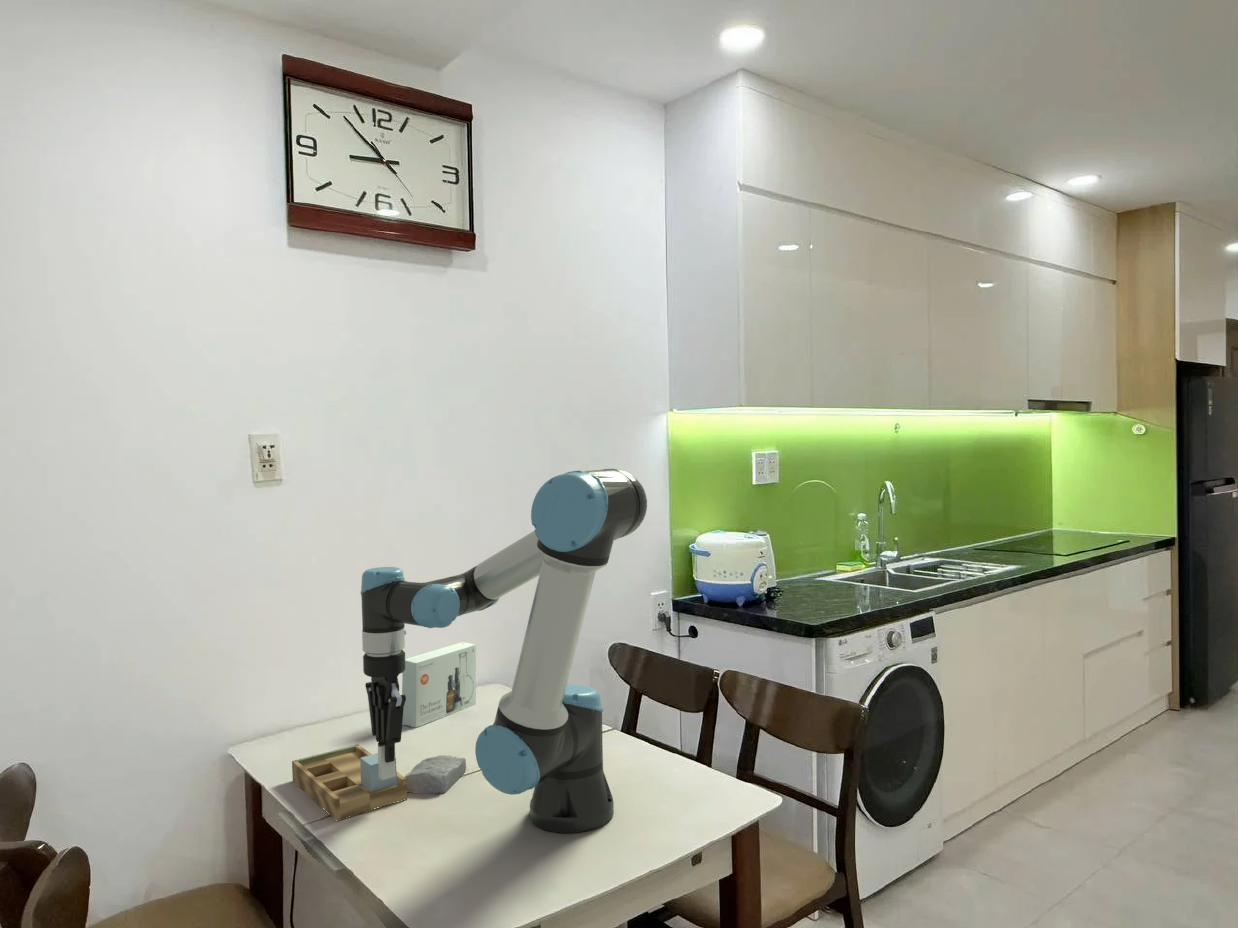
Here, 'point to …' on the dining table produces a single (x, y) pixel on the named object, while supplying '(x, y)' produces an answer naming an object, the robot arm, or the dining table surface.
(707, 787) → the dining table surface
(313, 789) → the trap box
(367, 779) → the block
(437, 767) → the stone block
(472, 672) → the skincare box
